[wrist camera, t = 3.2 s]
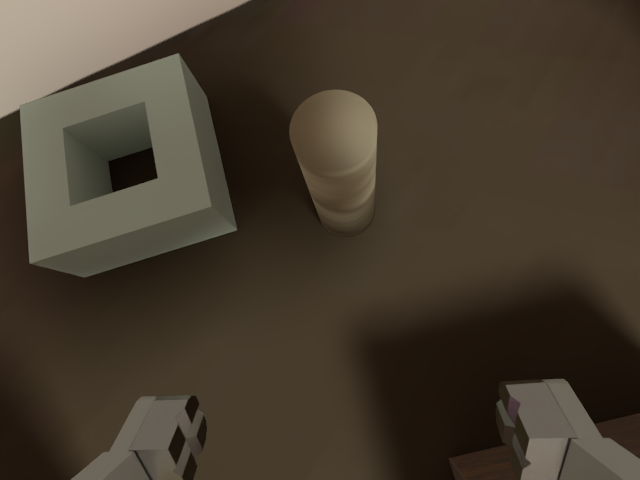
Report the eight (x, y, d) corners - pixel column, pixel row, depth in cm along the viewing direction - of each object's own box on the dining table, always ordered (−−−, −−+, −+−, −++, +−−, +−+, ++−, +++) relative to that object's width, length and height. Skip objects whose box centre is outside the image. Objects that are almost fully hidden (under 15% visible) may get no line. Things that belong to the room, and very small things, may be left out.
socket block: (206, 96, 32) (178, 53, 28) (237, 230, 29) (211, 206, 24) (70, 141, 33) (19, 105, 28) (84, 277, 29) (29, 263, 25)
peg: (364, 177, 29) (361, 78, 18) (381, 227, 28) (389, 152, 17) (312, 193, 29) (279, 105, 19) (327, 243, 28) (301, 179, 17)
